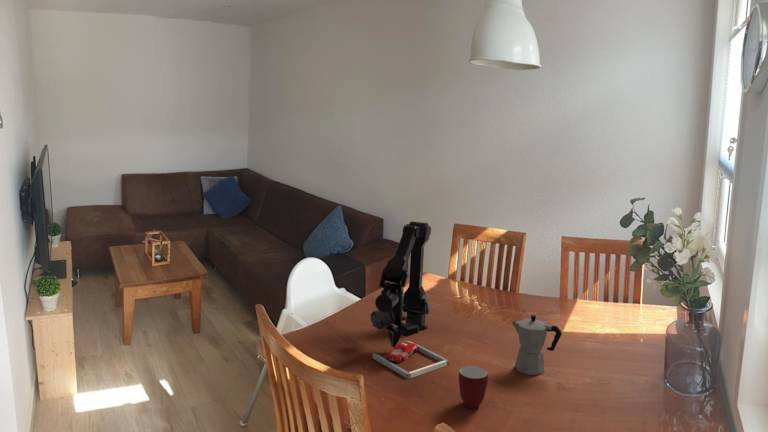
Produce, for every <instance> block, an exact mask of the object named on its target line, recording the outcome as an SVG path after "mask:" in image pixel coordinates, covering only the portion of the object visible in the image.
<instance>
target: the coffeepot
mask: <svg viewBox="0 0 768 432" xmlns="http://www.w3.org/2000/svg"><path fill="white" fill-rule="evenodd" d="M511 325H512V326H513V327H514V328H515V330H516V332H517V334H518V339H519V344H520V347H519V348H518V352H517V357H516V361H515V365H514V367H515V369H516V370H517V371H518V372H519V373H521V374H523V375H527V376H538V375H541V374H543V373H544V372H545V371H546V369H545V362H544V351H543V347H544V346H545V342H546V338H547V334H548V332H551V333H552V332H553V333H554V332H555V334H554V338H553V340H552V342H551V346H549V347H547V346H546V349H547V351H552V352H553V351H554V350H555V349H556V347H557V344H558V342H559V341H560V338H561V337H562V335H563V333H562V331H561V329H560V328H559V327H558V326H557V325H552V324H547V323H546V322H544V321H541V320H537V316H536V315H533V314H531V315H530V318H529V319H522V320H513V321H512V322H511Z"/></svg>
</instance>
